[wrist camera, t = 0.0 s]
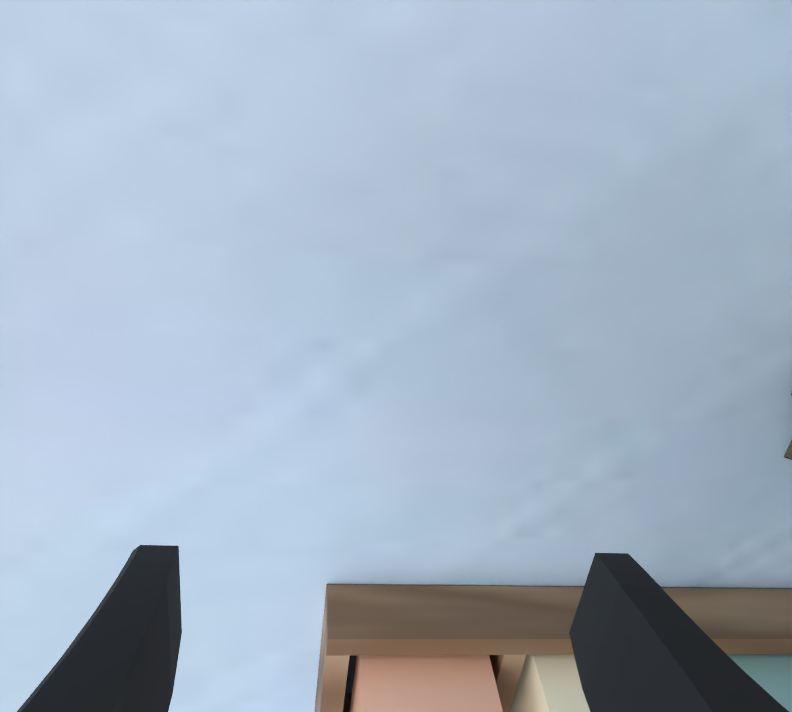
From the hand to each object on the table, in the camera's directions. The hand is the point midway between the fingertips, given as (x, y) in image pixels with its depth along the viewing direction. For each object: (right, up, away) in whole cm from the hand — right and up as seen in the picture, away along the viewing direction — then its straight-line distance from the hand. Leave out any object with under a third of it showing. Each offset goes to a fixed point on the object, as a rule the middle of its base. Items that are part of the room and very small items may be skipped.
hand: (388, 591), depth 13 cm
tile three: (+1, -8, +15) cm, 17 cm away
